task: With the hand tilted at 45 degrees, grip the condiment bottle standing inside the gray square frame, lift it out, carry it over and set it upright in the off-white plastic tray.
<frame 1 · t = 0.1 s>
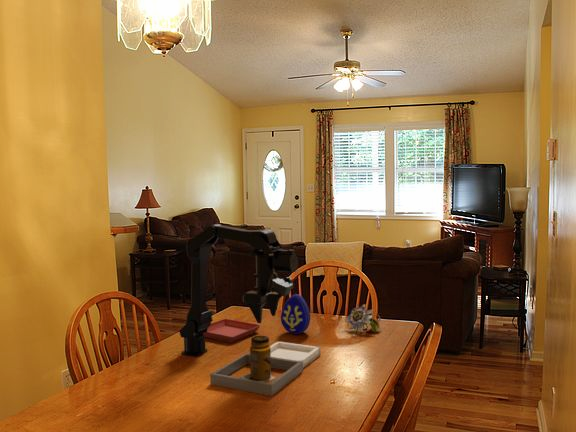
hand: (266, 319, 164), 15 cm above the table, tool pointing down, fingers open, 9 cm apart
gray square frame: (257, 377, 154), on the table
condiment: (257, 378, 154), resting in gray square frame
plant saucer: (228, 335, 199), on the table
passion flower: (363, 330, 202), on the table
tray: (289, 358, 171), on the table
ornament: (296, 333, 199), on the table
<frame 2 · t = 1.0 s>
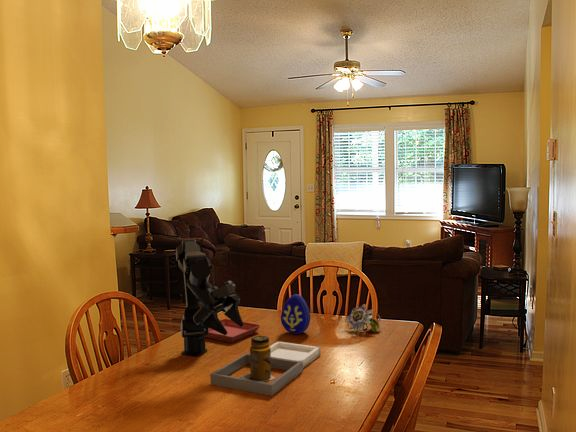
hand: (234, 330, 157), 13 cm above the table, tool tilted 45°, fingers open, 9 cm apart
nothing on the table moved.
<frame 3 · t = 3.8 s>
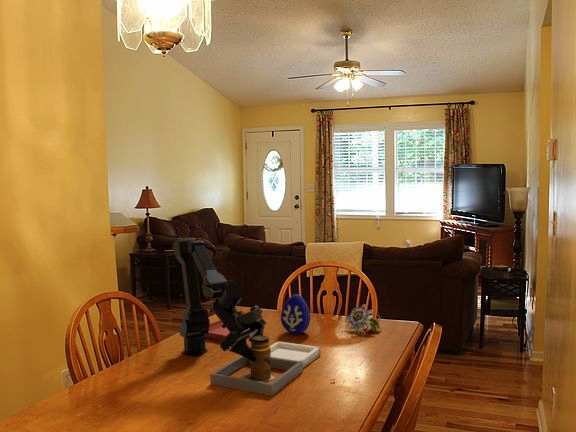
hand: (261, 356, 153), 7 cm above the table, tool tilted 45°, fingers open, 7 cm apart
condiment: (257, 378, 154), resting in gray square frame, touching gripper
everything else where it was.
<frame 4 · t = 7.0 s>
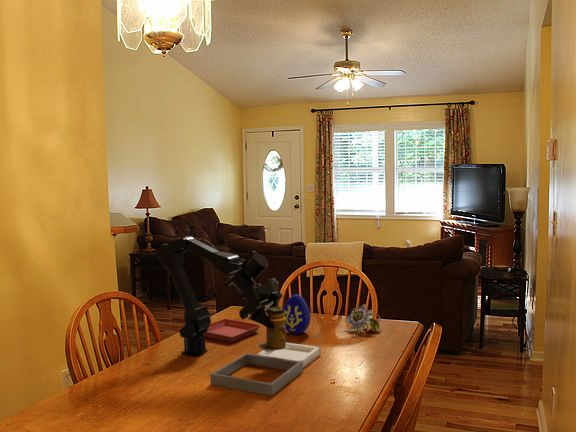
hand: (278, 325, 161), 13 cm above the table, tool tilted 45°, fingers closed on condiment, 6 cm apart
condiment: (273, 347, 162), point 6 cm above the table, touching gripper
everything else where it was.
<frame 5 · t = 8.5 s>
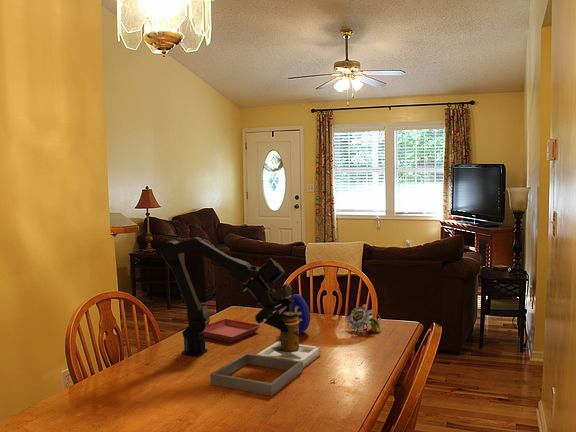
hand: (291, 329, 169), 10 cm above the table, tool tilted 45°, fingers closed on condiment, 6 cm apart
condiment: (287, 350, 170), point 3 cm above the table, touching gripper
everything else where it was.
when the fingers open (8 cm above the table, at t = 9.6 s): condiment stays where it is, resting on tray.
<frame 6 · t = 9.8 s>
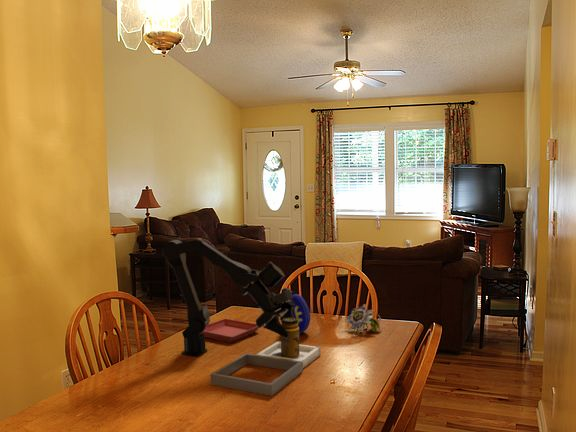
hand: (292, 333, 169), 9 cm above the table, tool tilted 45°, fingers open, 8 cm apart
condiment: (287, 356, 170), point 1 cm above the table, touching tray
everything else where it was.
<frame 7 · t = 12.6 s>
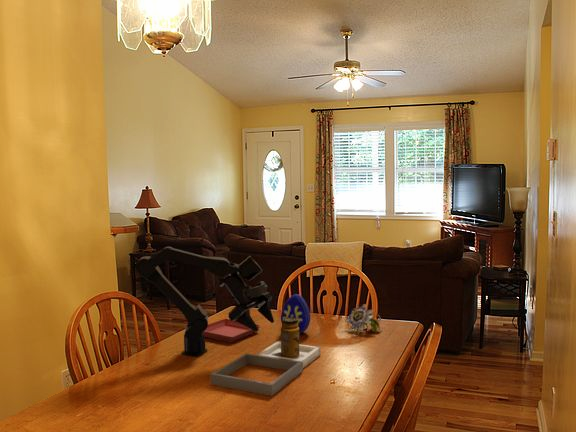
hand: (265, 326, 173), 10 cm above the table, tool tilted 40°, fingers open, 9 cm apart
nothing on the table moved.
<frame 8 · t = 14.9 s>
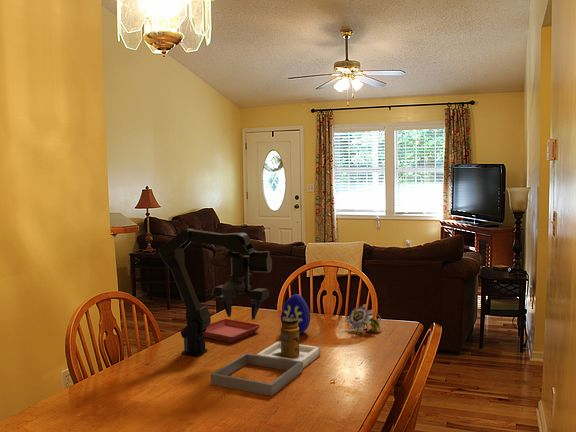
hand: (241, 318, 172), 13 cm above the table, tool pointing down, fingers open, 9 cm apart
nothing on the table moved.
at the end: condiment inside the target area on the tray (0.5 cm from its centre), point 0.8 cm above the tray's base; condiment tilted 0°; the gripper is holding nothing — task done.
